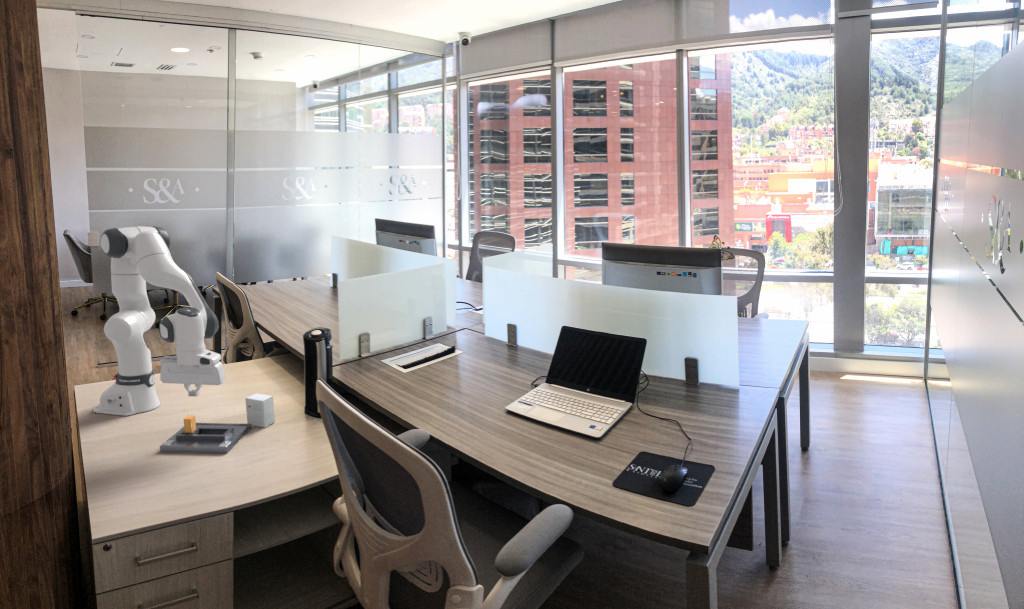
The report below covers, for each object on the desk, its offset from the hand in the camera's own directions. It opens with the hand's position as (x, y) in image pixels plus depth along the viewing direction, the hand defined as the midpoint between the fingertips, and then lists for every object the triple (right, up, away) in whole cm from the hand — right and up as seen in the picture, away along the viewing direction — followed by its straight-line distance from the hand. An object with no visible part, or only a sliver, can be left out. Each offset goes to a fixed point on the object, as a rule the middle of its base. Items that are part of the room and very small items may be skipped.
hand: (193, 395), depth 220 cm
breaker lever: (-2, -14, +3) cm, 15 cm away
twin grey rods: (+2, -14, +15) cm, 20 cm away
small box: (+15, -13, +19) cm, 28 cm away
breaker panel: (+3, -16, +4) cm, 17 cm away
